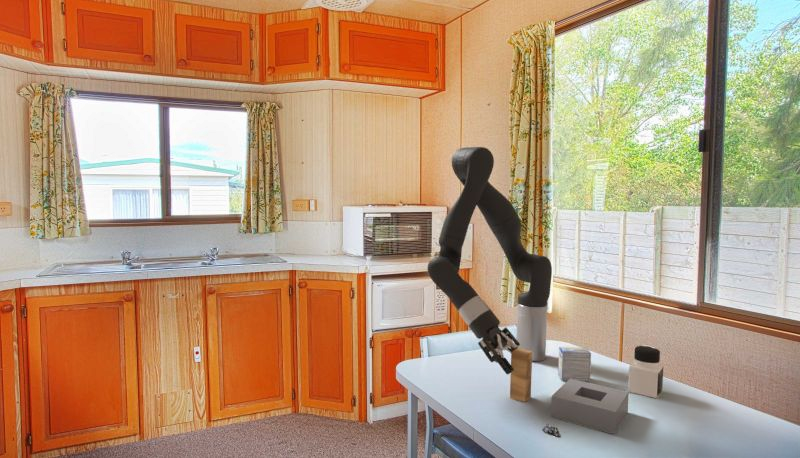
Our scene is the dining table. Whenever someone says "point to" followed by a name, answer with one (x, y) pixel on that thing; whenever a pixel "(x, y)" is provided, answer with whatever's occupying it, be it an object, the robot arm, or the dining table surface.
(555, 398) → the socket block
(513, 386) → the wooden peg
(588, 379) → the medicine box
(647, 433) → the dining table surface
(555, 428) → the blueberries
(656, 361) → the medicine bottle
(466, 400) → the dining table surface
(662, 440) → the dining table surface
